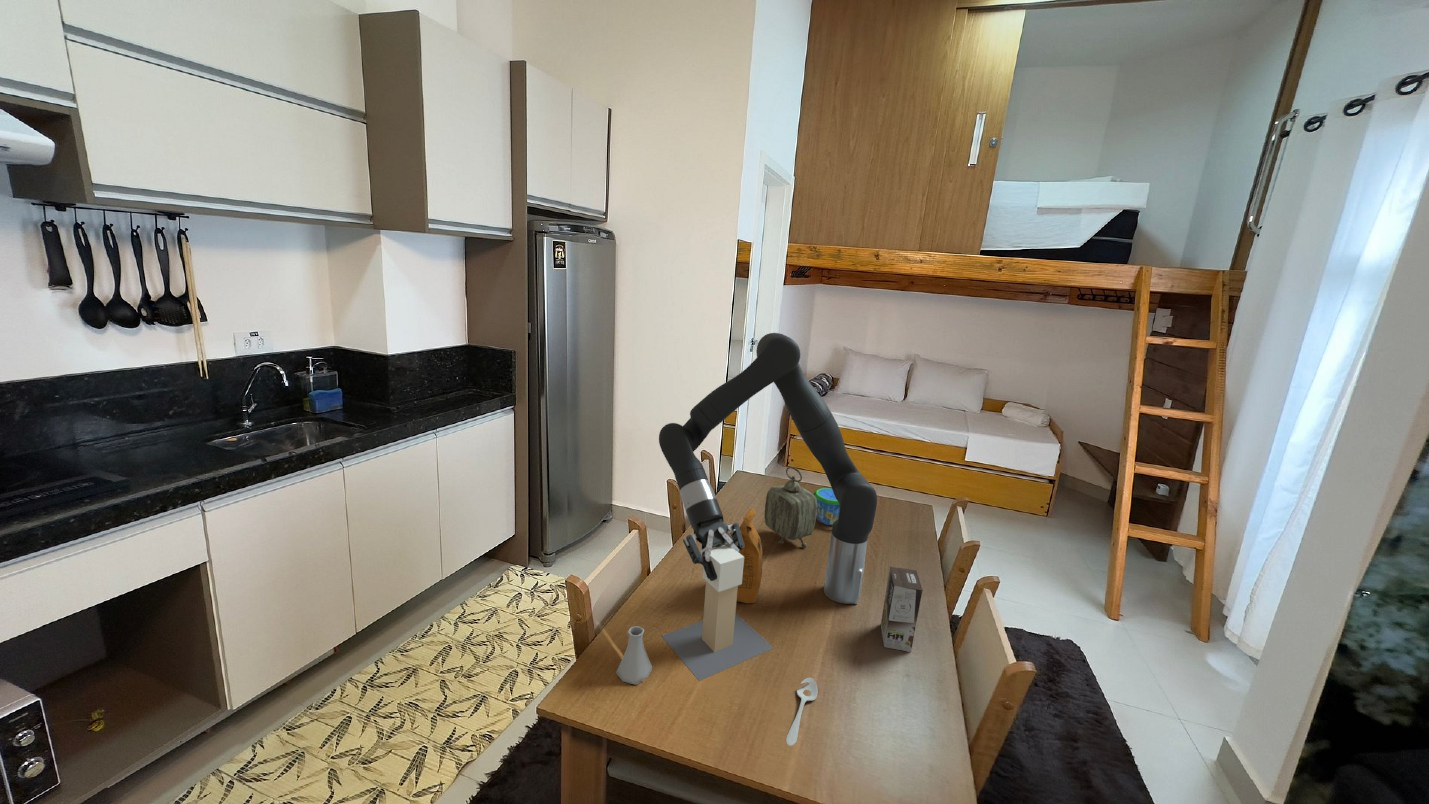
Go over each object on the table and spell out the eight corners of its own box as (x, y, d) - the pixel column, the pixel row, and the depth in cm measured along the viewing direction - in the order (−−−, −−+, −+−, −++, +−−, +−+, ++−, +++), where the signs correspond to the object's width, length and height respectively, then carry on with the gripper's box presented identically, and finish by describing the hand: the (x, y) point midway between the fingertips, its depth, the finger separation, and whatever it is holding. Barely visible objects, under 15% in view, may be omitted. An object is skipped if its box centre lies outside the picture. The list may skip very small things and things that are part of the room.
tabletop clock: (812, 549, 170) (821, 473, 164) (790, 556, 165) (798, 478, 159) (781, 529, 182) (789, 458, 176) (759, 535, 177) (767, 462, 171)
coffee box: (912, 653, 127) (923, 590, 123) (883, 647, 128) (893, 585, 124) (907, 628, 136) (917, 569, 132) (880, 623, 137) (889, 565, 133)
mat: (731, 611, 137) (732, 609, 137) (773, 650, 125) (773, 648, 124) (661, 638, 126) (661, 635, 126) (699, 683, 113) (699, 680, 113)
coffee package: (764, 583, 151) (771, 508, 145) (756, 609, 139) (764, 529, 134) (728, 576, 153) (734, 502, 147) (718, 601, 141) (724, 522, 136)
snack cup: (855, 528, 186) (859, 501, 184) (830, 534, 181) (834, 505, 179) (825, 509, 199) (829, 483, 197) (802, 514, 194) (805, 487, 192)
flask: (636, 690, 110) (638, 647, 108) (609, 674, 114) (610, 632, 112) (659, 669, 116) (661, 628, 114) (632, 655, 120) (634, 615, 118)
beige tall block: (719, 632, 129) (724, 570, 125) (732, 644, 125) (738, 581, 121) (701, 639, 126) (706, 576, 122) (714, 652, 122) (719, 587, 118)
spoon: (820, 686, 115) (821, 680, 115) (795, 765, 97) (797, 758, 96) (801, 680, 117) (801, 673, 116) (773, 756, 98) (774, 749, 98)
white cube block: (725, 570, 126) (727, 544, 124) (741, 584, 121) (744, 556, 119) (702, 577, 122) (704, 550, 120) (718, 592, 117) (720, 564, 116)
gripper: (680, 503, 119) (707, 579, 113) (734, 491, 127) (762, 562, 121) (667, 516, 125) (691, 589, 118) (719, 504, 133) (745, 572, 126)
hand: (727, 575), depth 120 cm, fingers closed on white cube block, 6 cm apart
